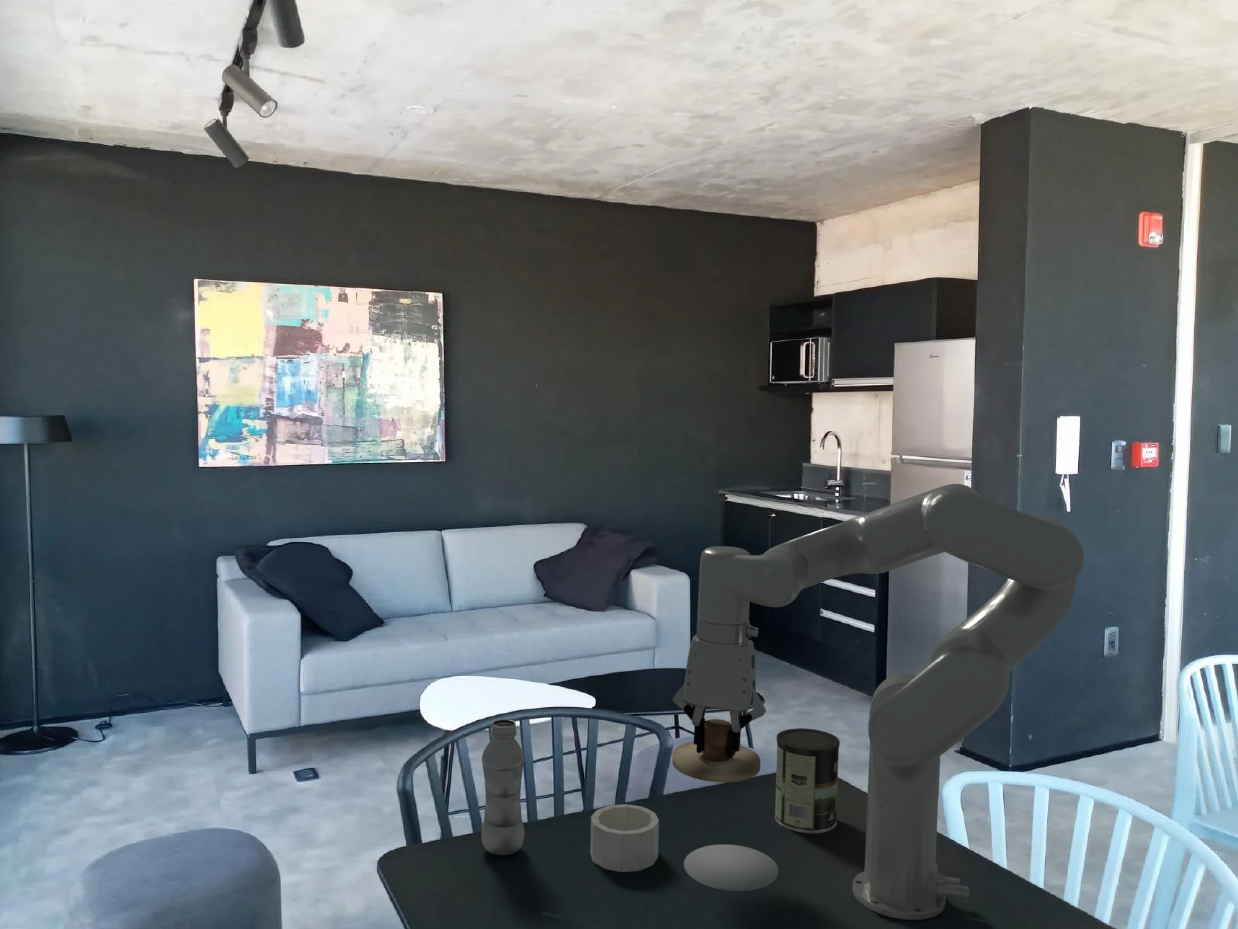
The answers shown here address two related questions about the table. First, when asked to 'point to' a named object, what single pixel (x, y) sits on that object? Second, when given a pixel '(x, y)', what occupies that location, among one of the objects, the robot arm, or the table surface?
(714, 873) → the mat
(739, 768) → the lid
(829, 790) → the coffee can
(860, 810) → the table surface
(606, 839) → the bowl
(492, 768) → the plastic bottle
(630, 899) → the table surface
